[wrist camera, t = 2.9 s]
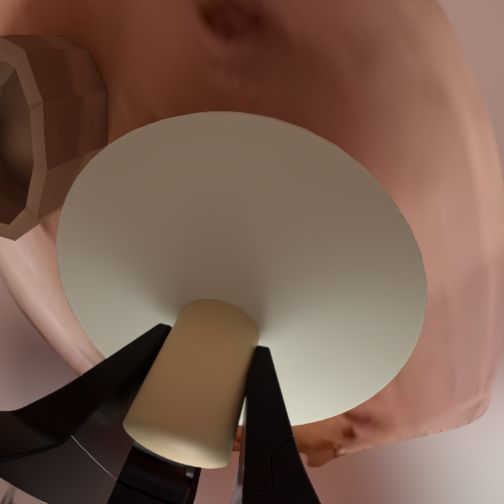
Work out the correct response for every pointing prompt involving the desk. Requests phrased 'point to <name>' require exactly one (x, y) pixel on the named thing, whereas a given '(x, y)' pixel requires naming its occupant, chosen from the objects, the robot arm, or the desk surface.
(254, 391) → the robot arm
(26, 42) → the box
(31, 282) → the desk surface
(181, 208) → the lid
